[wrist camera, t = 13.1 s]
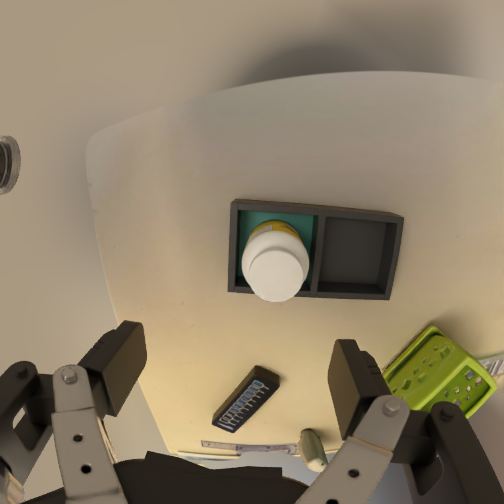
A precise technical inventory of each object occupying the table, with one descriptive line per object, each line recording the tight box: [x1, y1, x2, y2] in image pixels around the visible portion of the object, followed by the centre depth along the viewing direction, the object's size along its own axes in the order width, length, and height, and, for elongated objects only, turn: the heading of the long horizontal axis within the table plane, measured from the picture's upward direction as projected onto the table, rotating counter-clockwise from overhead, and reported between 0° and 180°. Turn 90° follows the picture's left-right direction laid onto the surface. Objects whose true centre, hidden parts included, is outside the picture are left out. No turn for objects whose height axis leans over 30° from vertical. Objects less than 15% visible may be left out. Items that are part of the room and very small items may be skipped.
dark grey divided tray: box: [228, 199, 404, 300], centre depth 34 cm, size 20×10×4 cm, turn 87°
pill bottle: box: [242, 220, 309, 302], centre depth 30 cm, size 6×6×12 cm
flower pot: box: [382, 325, 497, 419], centre depth 34 cm, size 14×14×13 cm
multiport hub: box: [212, 366, 280, 433], centre depth 42 cm, size 4×14×2 cm, turn 149°
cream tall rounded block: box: [298, 429, 328, 472], centre depth 42 cm, size 6×5×8 cm
